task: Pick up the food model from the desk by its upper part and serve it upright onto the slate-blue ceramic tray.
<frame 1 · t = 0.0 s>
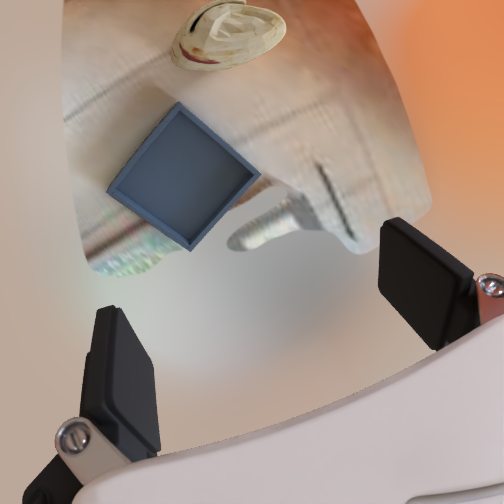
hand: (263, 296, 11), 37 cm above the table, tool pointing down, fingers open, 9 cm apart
food model: (205, 51, 37), on the table
serving tray: (182, 177, 45), on the table
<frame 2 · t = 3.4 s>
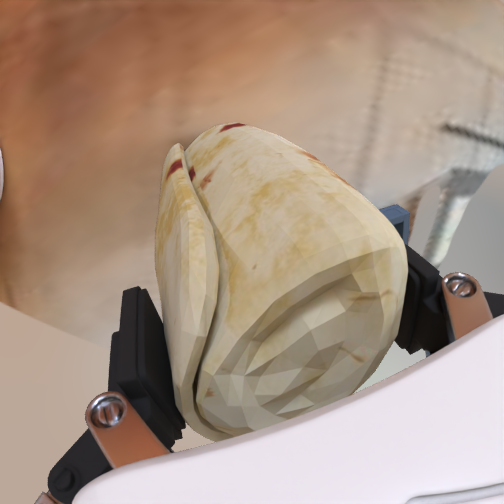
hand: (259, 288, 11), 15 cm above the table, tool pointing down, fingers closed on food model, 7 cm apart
food model: (202, 171, 24), on the table, touching gripper
serving tray: (334, 289, 33), on the table
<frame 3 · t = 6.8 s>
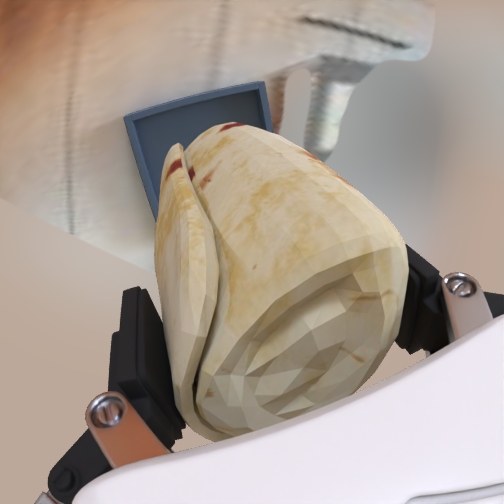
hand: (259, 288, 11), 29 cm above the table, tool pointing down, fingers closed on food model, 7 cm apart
food model: (201, 171, 24), point 13 cm above the table, touching gripper
serving tray: (207, 158, 37), on the table
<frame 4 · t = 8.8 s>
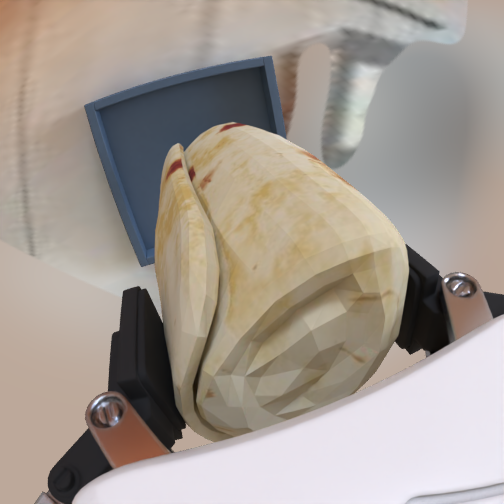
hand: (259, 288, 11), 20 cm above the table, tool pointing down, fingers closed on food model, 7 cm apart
food model: (202, 171, 24), point 5 cm above the table, touching gripper
serving tray: (196, 158, 28), on the table
when the fingers open (16 cm above the table, at t = 10.4 s): food model stays where it is, resting on serving tray.
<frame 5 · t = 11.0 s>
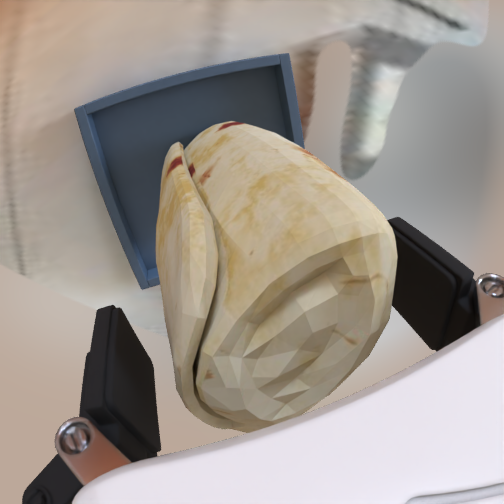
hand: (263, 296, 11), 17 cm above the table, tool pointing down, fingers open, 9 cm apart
food model: (201, 169, 25), resting on serving tray
serving tray: (202, 168, 25), on the table
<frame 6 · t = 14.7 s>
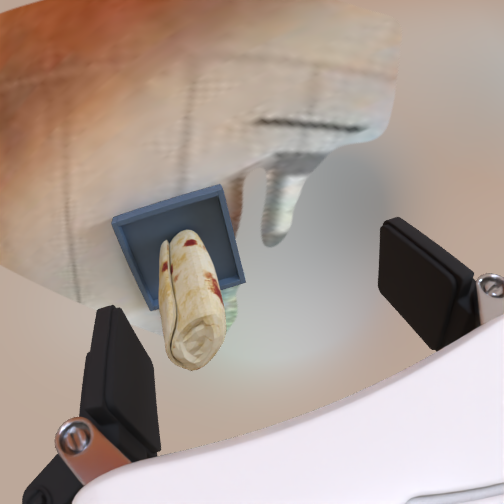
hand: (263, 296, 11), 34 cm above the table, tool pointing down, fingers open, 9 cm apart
food model: (180, 249, 47), resting on serving tray
serving tray: (181, 248, 47), on the table
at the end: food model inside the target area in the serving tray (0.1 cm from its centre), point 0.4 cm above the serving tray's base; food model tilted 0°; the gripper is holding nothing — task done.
